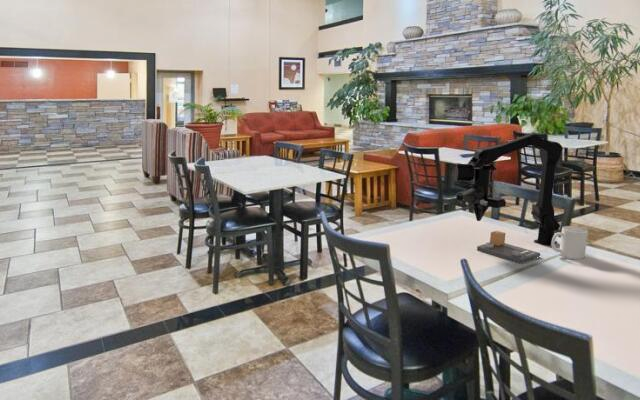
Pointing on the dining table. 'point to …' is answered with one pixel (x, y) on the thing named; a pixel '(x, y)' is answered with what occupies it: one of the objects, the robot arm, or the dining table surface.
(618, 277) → the dining table surface
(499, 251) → the board
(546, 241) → the robot arm
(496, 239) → the orange cube
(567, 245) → the cup
